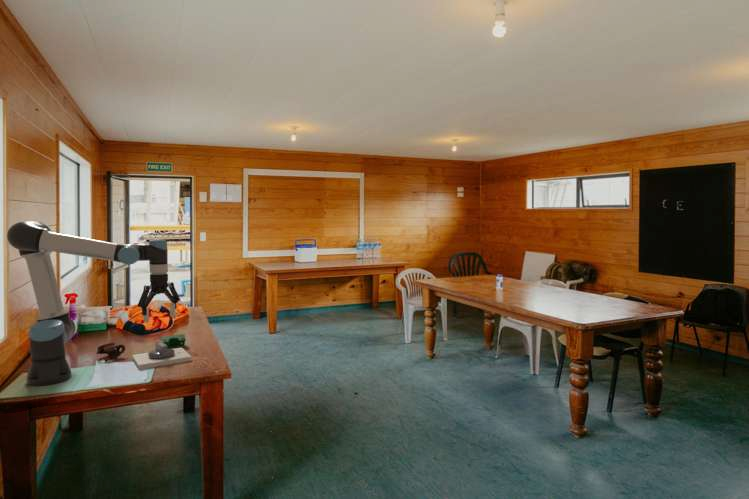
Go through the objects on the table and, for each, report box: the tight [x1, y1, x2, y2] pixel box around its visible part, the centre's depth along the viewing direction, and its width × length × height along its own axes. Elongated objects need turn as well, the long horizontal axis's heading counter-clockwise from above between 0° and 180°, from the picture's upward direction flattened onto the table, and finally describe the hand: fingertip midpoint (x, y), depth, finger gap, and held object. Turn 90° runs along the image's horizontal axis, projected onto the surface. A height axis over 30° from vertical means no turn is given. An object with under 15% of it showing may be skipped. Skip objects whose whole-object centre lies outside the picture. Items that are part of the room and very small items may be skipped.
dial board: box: [131, 347, 192, 370], centre depth 222 cm, size 22×18×2 cm
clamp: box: [160, 333, 187, 349], centre depth 242 cm, size 12×6×9 cm, turn 112°
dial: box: [147, 339, 174, 359], centre depth 222 cm, size 11×11×6 cm
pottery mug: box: [96, 342, 126, 362], centre depth 225 cm, size 12×10×8 cm
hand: (159, 319), depth 220 cm, fingers open, 13 cm apart
